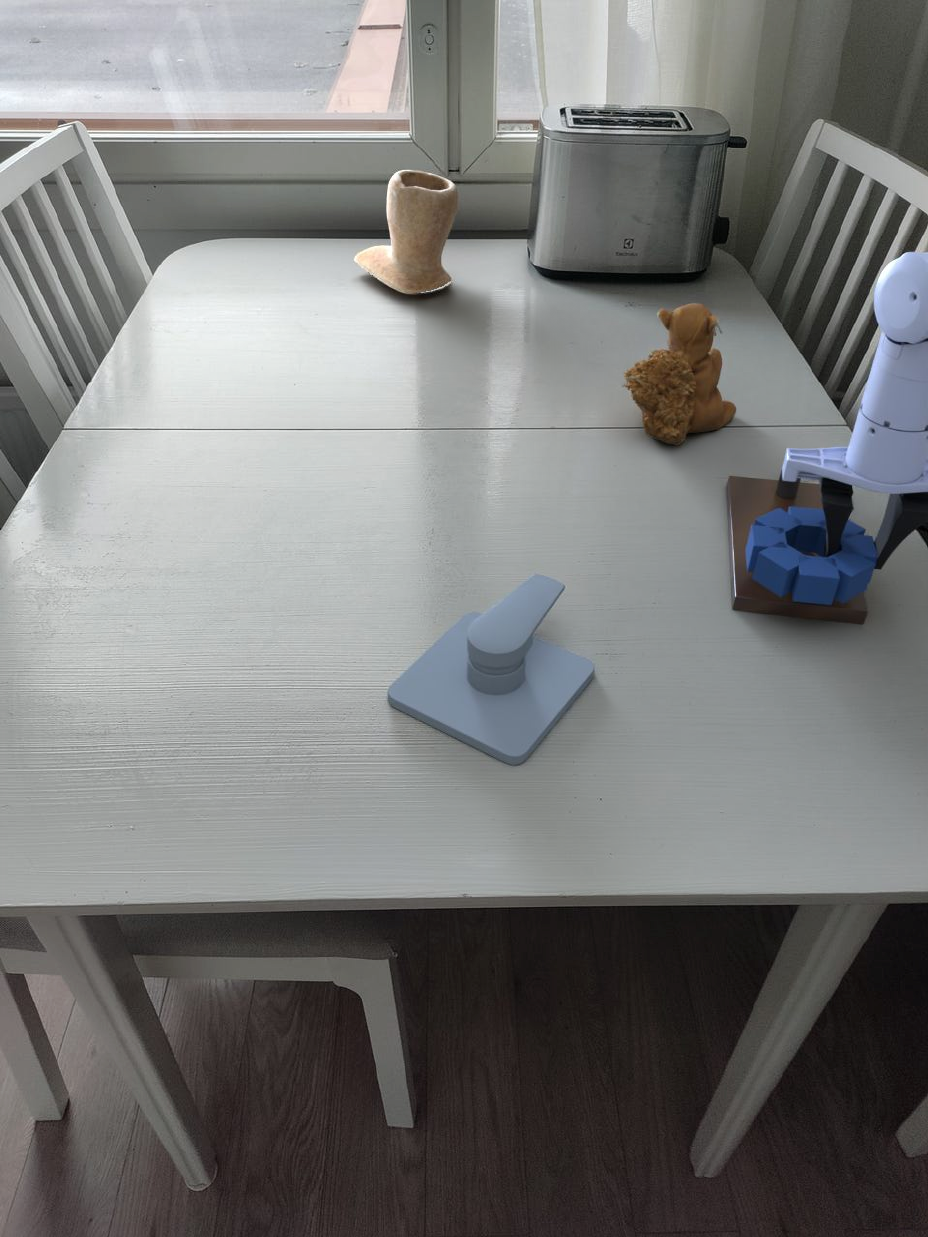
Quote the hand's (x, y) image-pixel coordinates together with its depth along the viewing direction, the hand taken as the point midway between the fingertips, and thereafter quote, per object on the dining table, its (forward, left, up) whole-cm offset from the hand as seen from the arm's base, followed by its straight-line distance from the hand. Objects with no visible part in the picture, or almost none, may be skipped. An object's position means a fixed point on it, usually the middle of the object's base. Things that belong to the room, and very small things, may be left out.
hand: (852, 559), depth 80 cm
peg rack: (+4, -8, -5) cm, 10 cm away
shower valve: (+28, +14, -5) cm, 31 cm away
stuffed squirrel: (+15, -30, -5) cm, 33 cm away
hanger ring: (+4, 0, -1) cm, 4 cm away
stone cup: (+53, -67, -5) cm, 86 cm away
